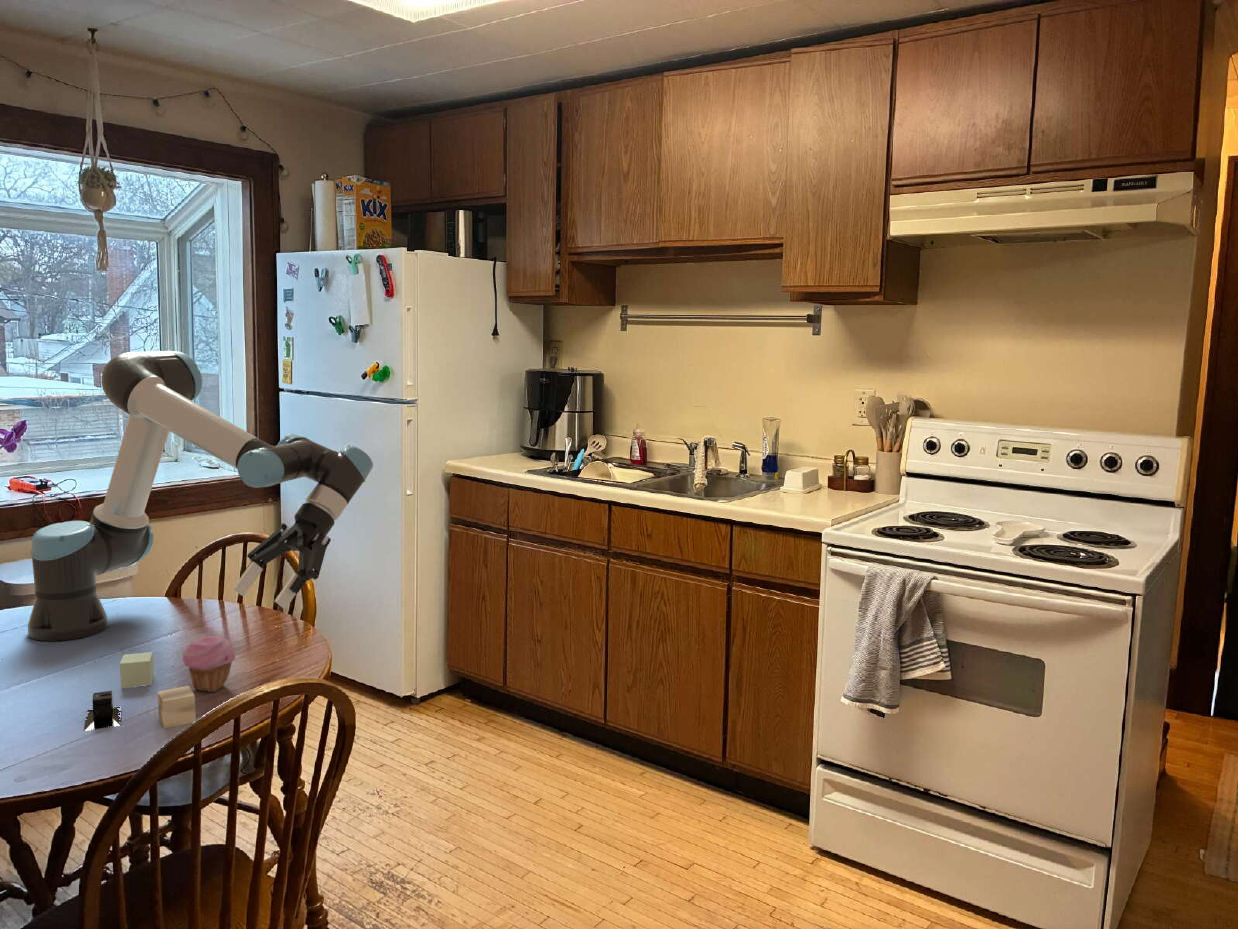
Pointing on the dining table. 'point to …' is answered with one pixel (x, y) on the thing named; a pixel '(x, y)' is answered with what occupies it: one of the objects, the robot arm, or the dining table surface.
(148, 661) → the sage block
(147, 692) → the dining table surface
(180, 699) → the birch block
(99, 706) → the black piece
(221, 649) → the cupcake
